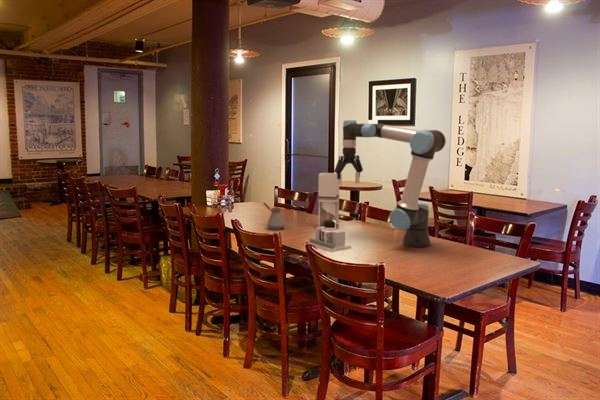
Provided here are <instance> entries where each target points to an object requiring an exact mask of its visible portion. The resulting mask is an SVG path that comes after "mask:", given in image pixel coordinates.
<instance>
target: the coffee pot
mask: <svg viewBox="0 0 600 400" xmlns="http://www.w3.org/2000/svg"><path fill="white" fill-rule="evenodd" d="M262 205H263V206H265V207H266V208H267V210H268V211H270V212H271V213H270V216H269V219H268V221H267V223H266V226H267V227H268V228H269V230H271V231H279V230H280V231H281V230H283V228H284V227H285V225H286V224H285V221H284V219H283V216H282V214H281V210H282V209H281V208H279V207H278V208H277V207H275V208H271V207H269V205H267V203H266V202H263V203H262Z"/></svg>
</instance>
